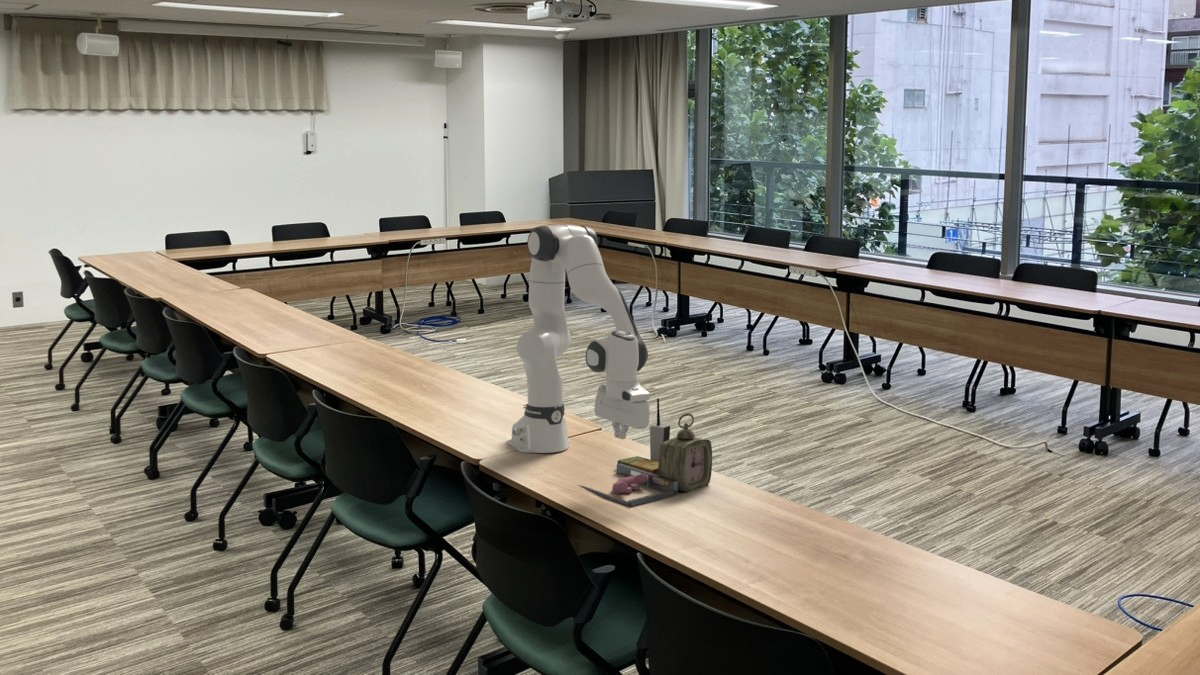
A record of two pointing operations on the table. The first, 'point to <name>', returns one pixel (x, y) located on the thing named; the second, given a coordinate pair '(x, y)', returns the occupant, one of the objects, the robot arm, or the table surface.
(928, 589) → the table surface
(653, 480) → the dock panel
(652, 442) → the vintage mobile phone
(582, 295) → the robot arm
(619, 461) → the carton
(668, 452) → the tabletop clock
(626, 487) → the purple lumpy piece
